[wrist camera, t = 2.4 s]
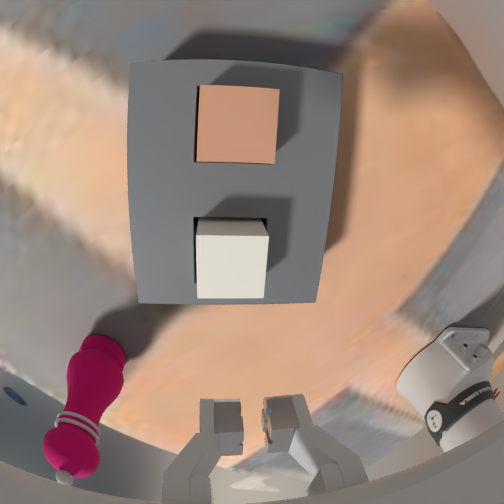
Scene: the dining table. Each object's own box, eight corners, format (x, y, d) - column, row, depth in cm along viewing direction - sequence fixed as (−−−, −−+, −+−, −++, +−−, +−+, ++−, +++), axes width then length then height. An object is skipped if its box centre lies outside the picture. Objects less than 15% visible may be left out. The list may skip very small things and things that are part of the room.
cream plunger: (259, 215, 26) (268, 236, 21) (255, 268, 27) (263, 298, 23) (199, 214, 25) (196, 235, 20) (199, 268, 27) (197, 298, 22)
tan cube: (266, 96, 22) (279, 89, 17) (262, 156, 24) (274, 163, 19) (203, 93, 21) (200, 85, 16) (200, 154, 23) (196, 161, 18)
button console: (318, 83, 25) (342, 74, 20) (299, 273, 33) (315, 302, 27) (147, 75, 23) (131, 62, 17) (150, 272, 31) (138, 303, 25)
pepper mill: (112, 325, 33) (63, 470, 15) (139, 367, 36) (114, 503, 18) (70, 336, 33) (14, 461, 15) (97, 374, 36) (62, 496, 18)
